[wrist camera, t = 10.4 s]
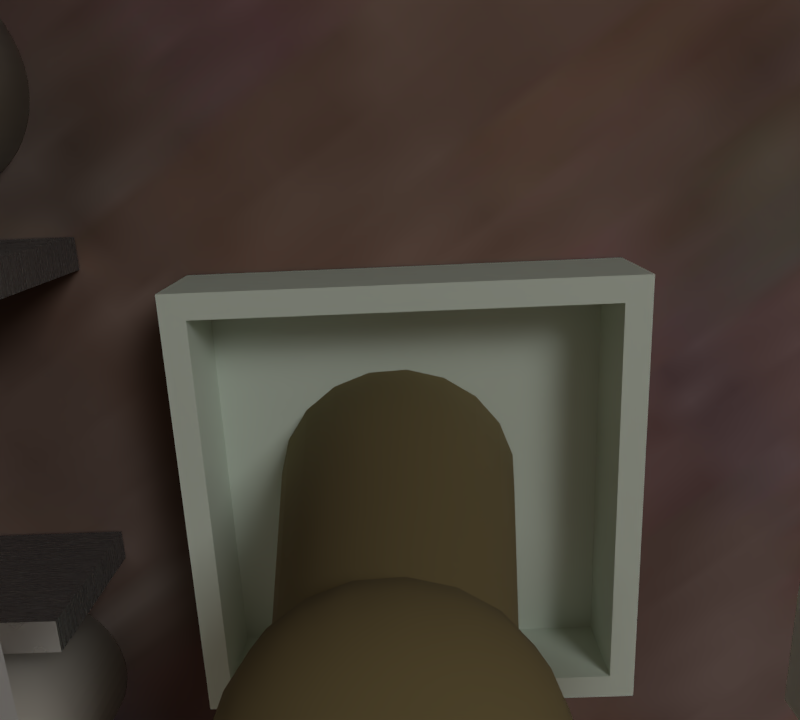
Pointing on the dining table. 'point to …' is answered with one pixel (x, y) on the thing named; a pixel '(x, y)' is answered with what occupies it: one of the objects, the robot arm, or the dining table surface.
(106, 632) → the cream rounded capsule
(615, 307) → the tray
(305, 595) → the cork
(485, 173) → the dining table surface
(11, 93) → the cream jar
